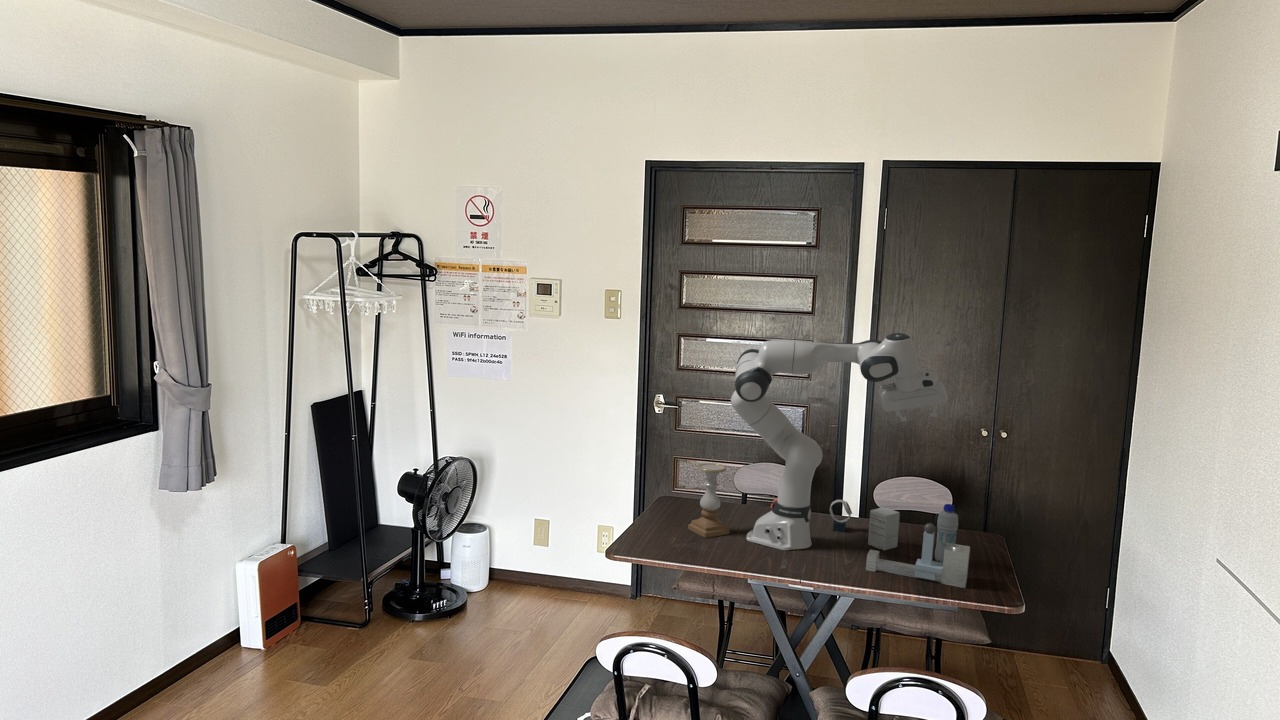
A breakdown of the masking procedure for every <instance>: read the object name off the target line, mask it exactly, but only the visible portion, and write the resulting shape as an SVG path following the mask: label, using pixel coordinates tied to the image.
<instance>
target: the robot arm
mask: <svg viewBox="0 0 1280 720" xmlns="http://www.w3.org/2000/svg"><path fill="white" fill-rule="evenodd" d="M759 347H760V348H759V349H757V348H748V349H747V350H745V351H743V352H742V353H741V354H740V355H739V357H738V359H737V363H736V367H735V373H734V376H735V380H734V381H735V382H734V388H735V390H734V392H733V393H732V395H731V396H730V397H731V398H730V404H731V406H732V407H733V409H734V410H735V412H736V413H737V414H738V415H739V417H740V418H741V420H743V421H744V422H745V423H746V424H747V425H748V426H749V427H750V428H751V429H752V431H753V430H754V432H756V434H758V435H759V436H760V437H761V439H762V440H764V441H765V442H766V444H767V445H768V446H769V447H770V448H771V449H772V450H773V451H774V452H775V453H776V455H778V456H779V457H780V458H782V459H783V460H784V461H785V466H784V469H783V472H782V476H781V477H780V478H779V479H778V486H777V487H778V489H777V497H775V498H774V499H773V501H772V503H771V504H770V509H771V510H770V511H769V512H767V513H765V514H764V515H762V516H760V517H759V518H758V519H757V520H756V521H755V524H754V526H753V529H751V530H749V532H747V534H746V538H745V539H746V540H747V541H748V542H750V543H755V544H759V545H762V546H766V547H770V548H773V549H776V550H781V551H790V550H802V549H808V548H810V547H811V546H812V544H813V543H812V539H811V534H810V533H811V532H810V520H811V515H812V513H811V512H812V510H811V505H812V504H811V492H812V491H811V490H812V483H813V482H812V481H813V478H814V475H815V471H816V470H817V468H818V467H819V465H820V464H821V463H822V462H823V461H822V460H823V450H822V448H821V446H820V445H819V444H818V442H817V441H816V440H814V439H813V438H812V437H809V436H808V435H806V434H804V433H803V432H801V431H800V430H799V429H798V428H797V427H796V426H795V425H794V424H793V422H791V420H789V418H788V417H787V415H786V414H785V413H783V411H781V410H780V409H779V408H778V406H777V405H776V404H774V403H773V402H772V401H771V400H770V399H769V398H768V397H767V396H765V395H766V393H767V391H768V389H769V387H770V385H771V384H772V381H773V378H772V376H773V375H777V374H789V375H799V376H801V375H802V376H803V375H805V376H806V375H812V374H814V373H815V372H817V371H818V370H819V368H821V367H822V366H824V365H826V364H828V363H853V364H854V363H855V364H857V365H859V369H860V374H861V375H862V376H863V378H864V379H865V380H867V381H868V382H872V383H879V382H883V381H885V380H887V379H890V378H892V377H893V381H894V382H893V383H888V384H882V385H881V386H879V387H878V388H877V393H878V396H879V397H880V398H881V405H882V409H883V411H884V412H885V413H893V412H895V414H896V415H897V416H898V417H899V418H900V420H901V422H902V423H904V422H905V423H906V422H907V421H908V418H907V414H903V413H902V411H906V410H907V411H908V410H913V409H919V408H926V407H932V409H933V410H931V411H930V416H931V418H932V419H934V418H937V415H938V414H937V410H938V407H939V405H946V404H947V403H948V400H949V399H948V398H949V396H948V393H947V390H946V387H945V385H944V383H943V382H942V381H941V380H940V379H939V374H938V372H937V371H932V370H931V371H930V370H923V369H922V368H921V366H920V364H919V362H918V361H919V359H918V358H919V356H918V353H917V352H918V351H917V349H916V345H915V343H914V342H913V339H912V338H911V336H909V335H908V334H906V333H903V332H894V333H890V334H888V335H886V336H885V338H884V339H883V340H882V341H881V340H879V339H868V340H865V341H861V342H853V343H851V342H850V343H849V342H820V341H819V342H818V341H805V340H799V339H796V340H794V339H771V340H766V341H764V342H763V343H761V345H760V346H759Z"/></svg>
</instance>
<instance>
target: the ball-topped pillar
mask: <svg viewBox="0 0 1280 720" xmlns="http://www.w3.org/2000/svg"><path fill="white" fill-rule="evenodd" d="M923 529H924V532H923V534H922V535H923V536H922V549H921V558H917V559H916V562H915V564H914V565H915V576H914V577H920V578H925V579H930V580H935V573H939V574H942V571H943V563H940V561H939V562H936V561H935V560H933V557H934V556H933V555H934V545H935V536H936V535H935V534H936V533H935V531H936V527H935V525H934V524H933V523H931V522H928V523H926V524H925V525H924V526H923ZM914 577H913V578H914ZM920 578H919V579H920ZM925 579H924V580H925ZM930 580H929V581H930Z"/></svg>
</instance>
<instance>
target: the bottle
mask: <svg viewBox="0 0 1280 720" xmlns="http://www.w3.org/2000/svg"><path fill="white" fill-rule="evenodd" d="M936 522H937V524H936V527H937V533H936V535H937V536H936V541H935V544H936V545H935V550H934V558H935V562H940V563H943V560H944V549H945V546H946V543H952V544H956V540H957V530H958V528H959V515H958V514H957V513H956V512H955V505H954V504H951V503H945V504H944V505H943V510H941V511H940V512H938V516H937V521H936Z"/></svg>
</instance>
